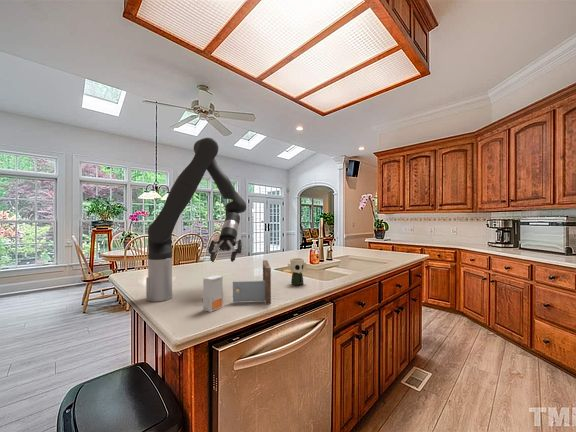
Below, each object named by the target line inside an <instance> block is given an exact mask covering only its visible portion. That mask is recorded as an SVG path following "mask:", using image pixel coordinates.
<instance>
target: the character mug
mask: <svg viewBox="0 0 576 432" xmlns="http://www.w3.org/2000/svg"><path fill="white" fill-rule="evenodd" d="M289 260H290V262H289V263H287V270H288V271H290V272H291V273H292V274H291V284H292V285H295V286H299V285H304V276H303V272H304V271H305V269H306V268H307V261H305V259H304V258H301V257H293V258H290V259H289Z"/></svg>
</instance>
